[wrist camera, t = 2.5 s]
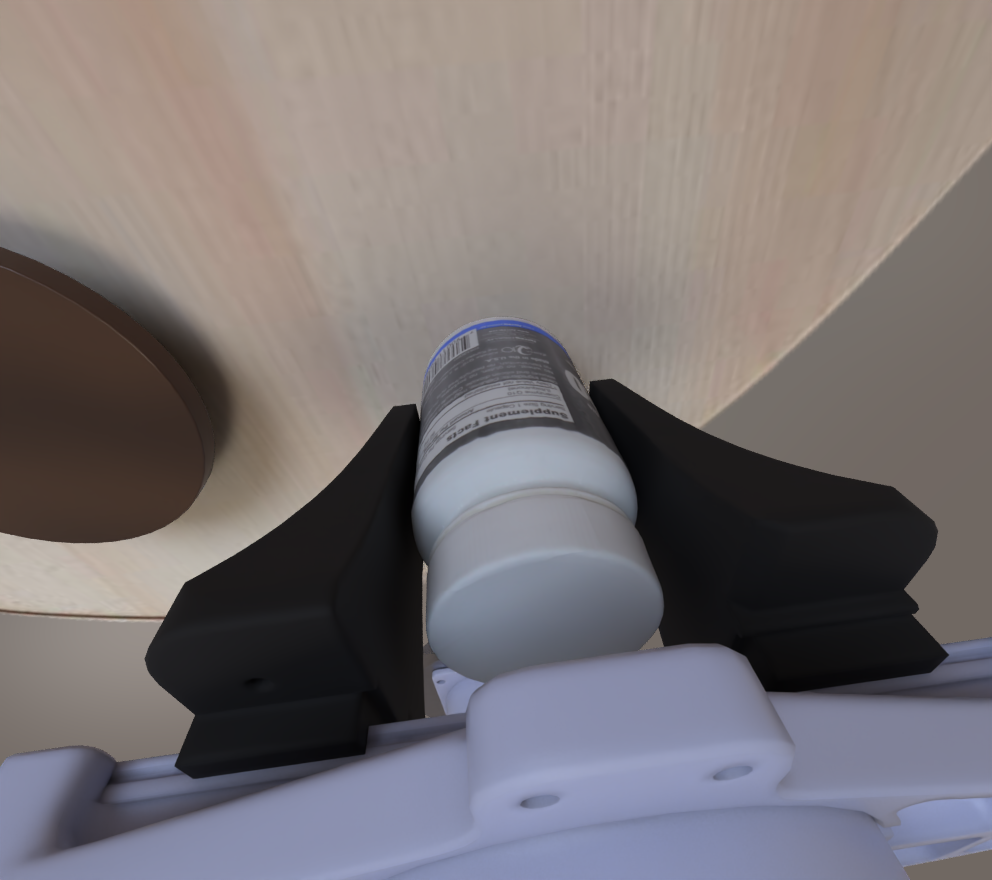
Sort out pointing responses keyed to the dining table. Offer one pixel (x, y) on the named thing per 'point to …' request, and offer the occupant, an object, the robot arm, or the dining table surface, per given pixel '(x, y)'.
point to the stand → (90, 415)
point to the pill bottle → (524, 509)
